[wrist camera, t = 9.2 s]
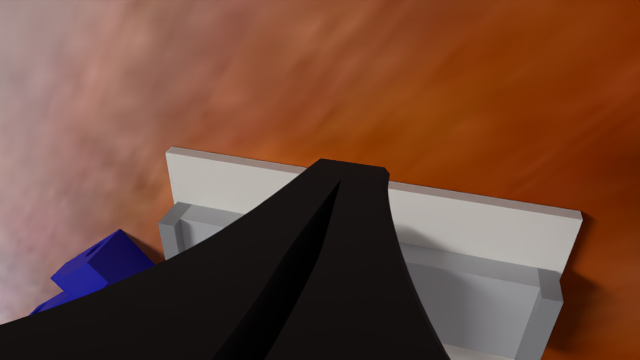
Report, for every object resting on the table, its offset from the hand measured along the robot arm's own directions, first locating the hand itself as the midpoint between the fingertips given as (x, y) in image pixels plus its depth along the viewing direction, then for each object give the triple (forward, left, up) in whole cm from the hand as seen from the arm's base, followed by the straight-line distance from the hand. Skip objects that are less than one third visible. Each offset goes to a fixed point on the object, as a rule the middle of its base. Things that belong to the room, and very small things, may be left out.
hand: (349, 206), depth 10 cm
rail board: (+2, +11, -10) cm, 15 cm away
